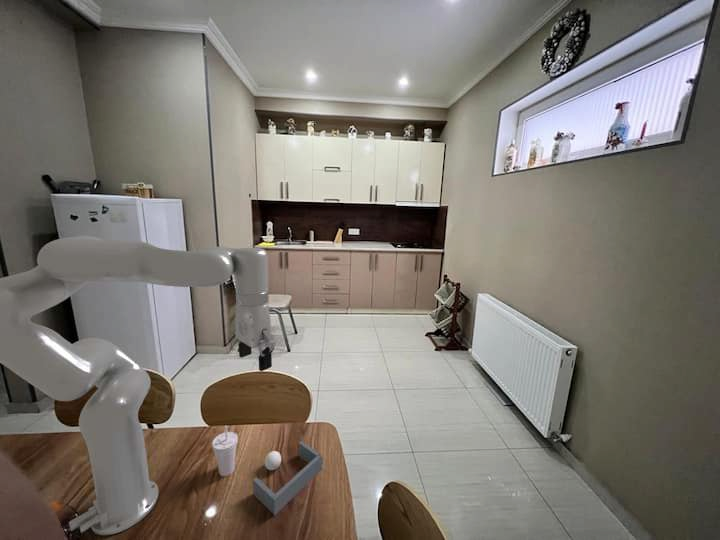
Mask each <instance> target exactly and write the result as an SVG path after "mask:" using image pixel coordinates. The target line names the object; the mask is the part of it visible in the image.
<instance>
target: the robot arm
mask: <svg viewBox="0 0 720 540" xmlns="http://www.w3.org/2000/svg"><path fill="white" fill-rule="evenodd" d="M268 257H269V256H268V253H267V251H266V250H265V249H264V248H260V247H243V248H235V247H234V248H233V247H225V246H211V247H209V248H206V249H205V250H204V251H201V250H200V251H195V250H193V251H192V250H177V249H166V248H161V247H157V246H155V245H153V244H152V243H151V244H150V243H149V242H145V241H133V240H130V241H129V240H109V239H102V238H100V237H97V236H94V235H93V236H92V235H78V236H71V237H64V238H58V239H54V240H52V241H50V242H48V243H46V244H45V245H44V246H42V247H41V249H40V250H39V252H38V254H37V258H36V259H37V260H36V263H37V265H36V266H35V267H33V268H32V269H30V270H28V271H23V272H20V273H16V274H12V275H8V276H4V277H1V278H0V364H1V365H3V366H5V367H6V368H7V369H9V370H10V371H11V372H13V373H14V374H15V375H17V376H19V377H20V378H22V379H23V380H24V381H26V382H27V383H28V384H30V385H32V386H33V387H34V388H35V389H37V390H39V391H40V392H42V393H43V394H45V395H47V396H48V397H49V398H52V399H53V400H56V401H59V402H71V401H74V400H77V399H79V398H81V397H83V396H84V395H85V394H87V393H88V392H89V391H90V390H92V388H94V386H95V387H96V388H97V390H96V391H95V392H94V393H93V394H92V395H91V396H90V398H89V399H88V400H87V402H86V403H85V404H84V406H83V408H82V410H81V411H80V415H79V418H78V427H79V431H80V433H81V436H82V437H83V439H84V442H85V444H86V446H87V451H88V454H89V461H90V465H91V472H92V473H91V474H92V478H93V484H94V490H95V497H96V499H94V500H93V502H92V503H93V505H92V506H91V507H89V508H88V511H86V512H83V514H81V515H79V516H77V517H75V518H74V519H72V520H70V521H69V522H68V525H69V528H70V532H72V531H74V530H76V529H77V528H79V530H80V533H81V534H82V533H84V532H85V531H87V530H88V529H91V530H92V532H93V533H94V534H96V535H100V536H109V535H114V534H117V533H118V534H119V533H120V532H123V531H125V530H127V529H129V528H131V527H132V526H134V525H136V524H137V523H139V522H140V521H141V520H143V518H144V517H146V516H147V515H148V514H149V512H151V510H152V509H153V508H154V507H155V505H156V503H157V501H158V499H159V494H160V493H159V487H158V484H157V483H156V482H155V481H153V480H150V474H149V468H148V466H149V465H148V459H147V458H148V457H147V449H146V442H145V435H144V434H145V433H144V430H143V427H142V424H141V422H140V420H139V410H140V407H141V406H142V404H143V403H144V400H145V398H146V396H147V395H148V393H149V391H150V388H151V377H150V375H149V373H148V372H147V371H146V369H144V368H143V367H142V366H141V365H140V364H139V363H138V362H136V361H135V360H134V359H133V358H131V357H130V356H129V355H128V354H127V353H125V352H124V351H123V350H122V349H121V348H119V347H118V346H117V345H115V344H114V343H112V342H110V341H108V340H106V339H103V338H100V337H99V338H98V337H88V338H83V339H80V340H77V341H75V342H74V343H71V342H70V341H68V339H65V338H64V337H63V336H61V334H60V333H58V332H56V331H54V330H53V329H51V328H48V326H44V325H41V324H37V323H35V322H33V321H31V320H32V319H31V318H32V317H33V316H35V315H37V314H40V313H43V312H44V311H46V310H48V309H50V308H53V307H56V306H57V305H59V304H61V303H62V302H64V301H65V300H67V299H68V298H69V297H71V296H72V295H74V294H75V293H76V292H79V290H80V289H82V288H83V287H85V286H87V284H89V283H90V282H125V283H126V282H136V283H137V282H139V283H146V284H151V285H158V286H166V287H176V288H177V287H178V288H190V287H191V288H207V287H217V286H220V285H222V284H224V283H226V282H227V281H229V279H230V278H231V277H232V276H233V277H234V279H235V280H234V282H235V284H234V285H235V300H236V302H235V303H236V305H235V312H234V314H235V315H234V316H235V317H234V333H235V338H236V339H237V342H238V356H239V358H241V359H242V358H245V357H247V356H249V355H252V348H253V349H256V348H257V350H258V353H259V355H258V371H260V372H264V371H265V370H268V369H270V368H272V366H273V362H272V355H273V353H274V350H275V347H276V343H277V342H276V340H275V338H274V337H273V336H272V326H271V324H272V323H271V322H272V321H271V315H270V314H271V313H270V308H269V302H270V301H269V300H270V299H269V296H270V295H269V268H268V267H269V265H268V264H269V263H268V259H269V258H268ZM263 346H265V348H263Z"/></svg>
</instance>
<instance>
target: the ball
mask: <svg viewBox="0 0 720 540" xmlns="http://www.w3.org/2000/svg"><path fill="white" fill-rule="evenodd" d="M264 458H265V459H264V466H265V468H266V469H267V470H269V471H274V470H277V469H278V468H279V467H280V465H281V463H282V456H281V453H280V452H278V451H275V450H272V451H270V452H269V453H268V454H266V456H265V457H264Z"/></svg>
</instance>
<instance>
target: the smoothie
mask: <svg viewBox="0 0 720 540" xmlns="http://www.w3.org/2000/svg"><path fill="white" fill-rule="evenodd" d="M238 442H239V439H238V434H237V433H235V432H233V431H228V425H225V426H224V432H222V433H220V434H218V435H217V436H216V437H215V438H214V439H213V440H212V443H211V444H212V445H211V449H212V451H213V452H214V455H215V459H216V463H217V468H218V473H219V475H220V476H221V477H228V476H230V475H231V474H232V473H233V472H234V471H235V463H236V453H237V452H236V451H237V445H238Z"/></svg>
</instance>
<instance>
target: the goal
mask: <svg viewBox="0 0 720 540" xmlns="http://www.w3.org/2000/svg"><path fill="white" fill-rule="evenodd" d="M298 456H299V457H300V458H301V459H302V460H304V461H305V462H306V463H307V464H306V465H305V466H304V467H303V468H302V469H301V470H300V471H299V472H298V473H296V475H294V476H293V477H292V478H291V479H290V480H289V481H288V482H287V483H286V484H285V485H283V486H282V487H281V488H280V489H279V490H278V491H277V492H276V493H275V492H273V491H272V490H271V489H270V488H269V487H268V486H267V485H266V484H265V483H264V482H263V481H261V480H260V479H259V478H258V477H257V476H255V478H253V479H252V485H253V486H252V487H253V489H252V491H253V495H254V497H256V499H257V500H258V501H260V503H261V504H262V505H264V507H266V508H267V510H268V511H270V513H271V514H272V515H273V516H276V515H277V514H278V513H279V512H280V511H281V510H282V509H283V508H284V507H285V506H286V505H288V503H289V502H290V501H291V500H292V499H294V497H295V496H297V494H298V493H299V492H300V491H301V490H302V489H304V488H305V487H306V485H308V483H309V482H310V481H312V479H314V478H315V477H316V476H317V474H319V473H320V472H321V471H322V470H323V454H321V453H319V452H318V451H317V450H316V449H314V448H312V447H311V446H310V445H308V444H307V443H306V442H304V441H302V440H301V441H299V442H298Z"/></svg>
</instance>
